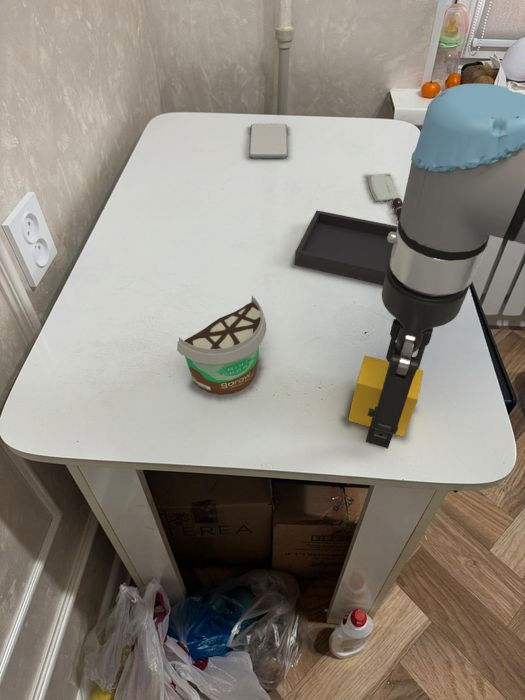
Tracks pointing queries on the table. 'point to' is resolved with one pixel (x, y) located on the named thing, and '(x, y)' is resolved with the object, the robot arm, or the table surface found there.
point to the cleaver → (385, 190)
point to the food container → (226, 350)
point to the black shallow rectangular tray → (346, 247)
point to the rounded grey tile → (268, 141)
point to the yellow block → (379, 393)
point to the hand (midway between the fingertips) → (385, 409)
